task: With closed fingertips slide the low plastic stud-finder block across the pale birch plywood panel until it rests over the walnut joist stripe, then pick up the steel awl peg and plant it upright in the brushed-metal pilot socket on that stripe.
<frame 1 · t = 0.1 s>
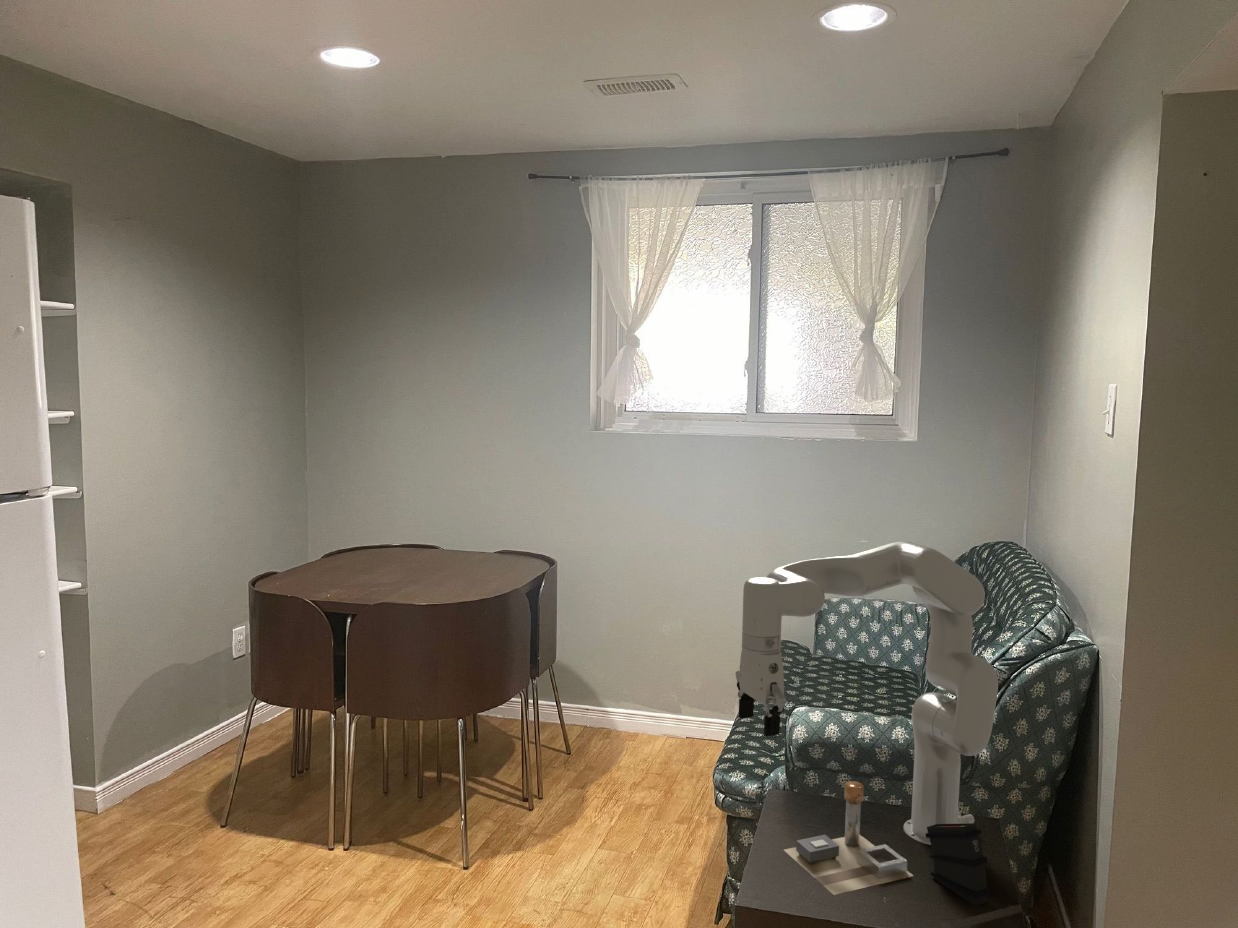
hand: (758, 725, 186), 31 cm above the table, fingers open, 9 cm apart
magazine: (954, 892, 185), on the table
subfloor: (846, 866, 193), on the table
socket: (881, 866, 192), resting on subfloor
finder: (817, 856, 195), point 1 cm above the table, touching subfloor
awl: (851, 843, 201), point 1 cm above the table, touching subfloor
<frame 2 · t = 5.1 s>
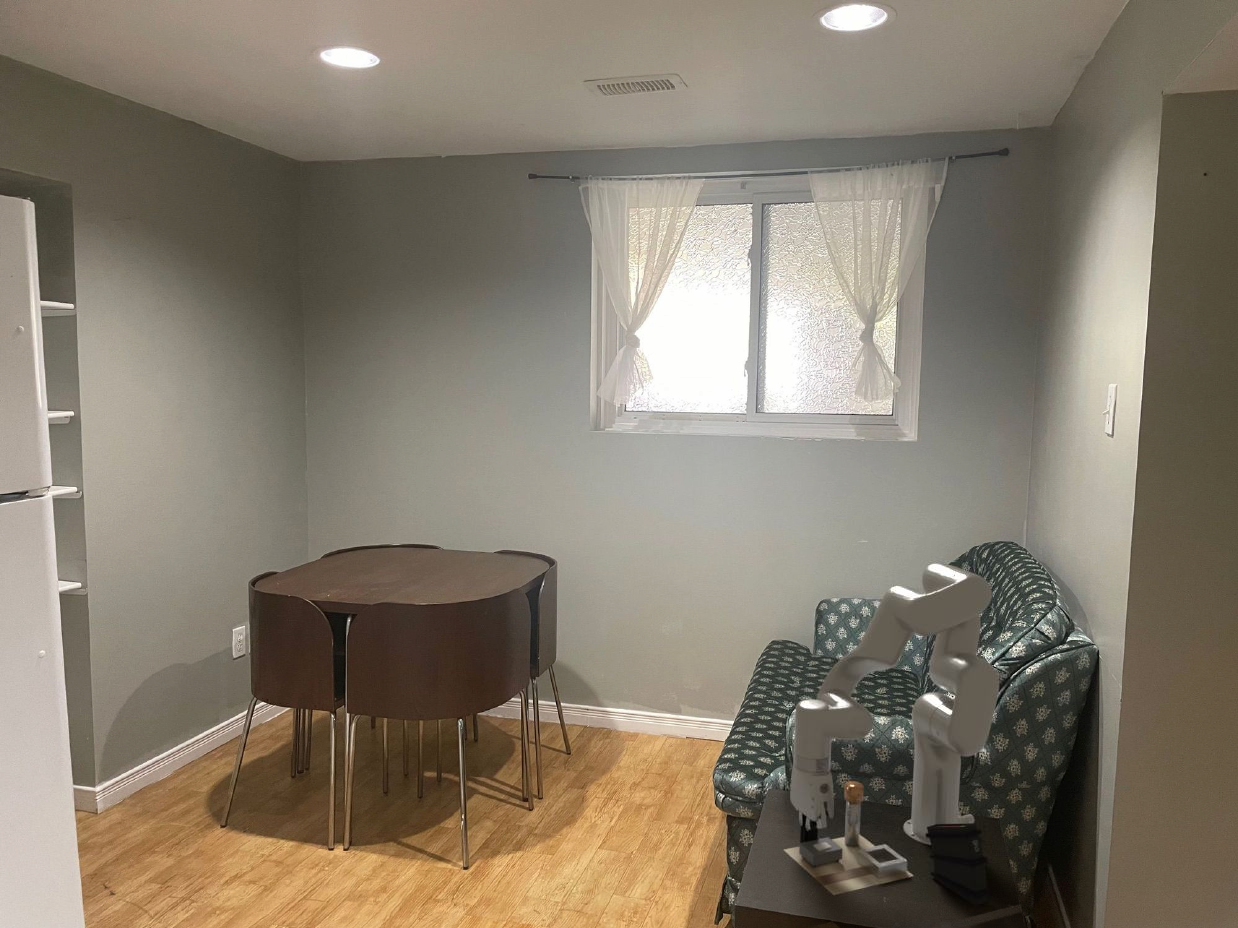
hand: (808, 844, 198), 2 cm above the table, fingers closed
finder: (820, 859, 194), point 1 cm above the table, touching gripper
everything else where it was.
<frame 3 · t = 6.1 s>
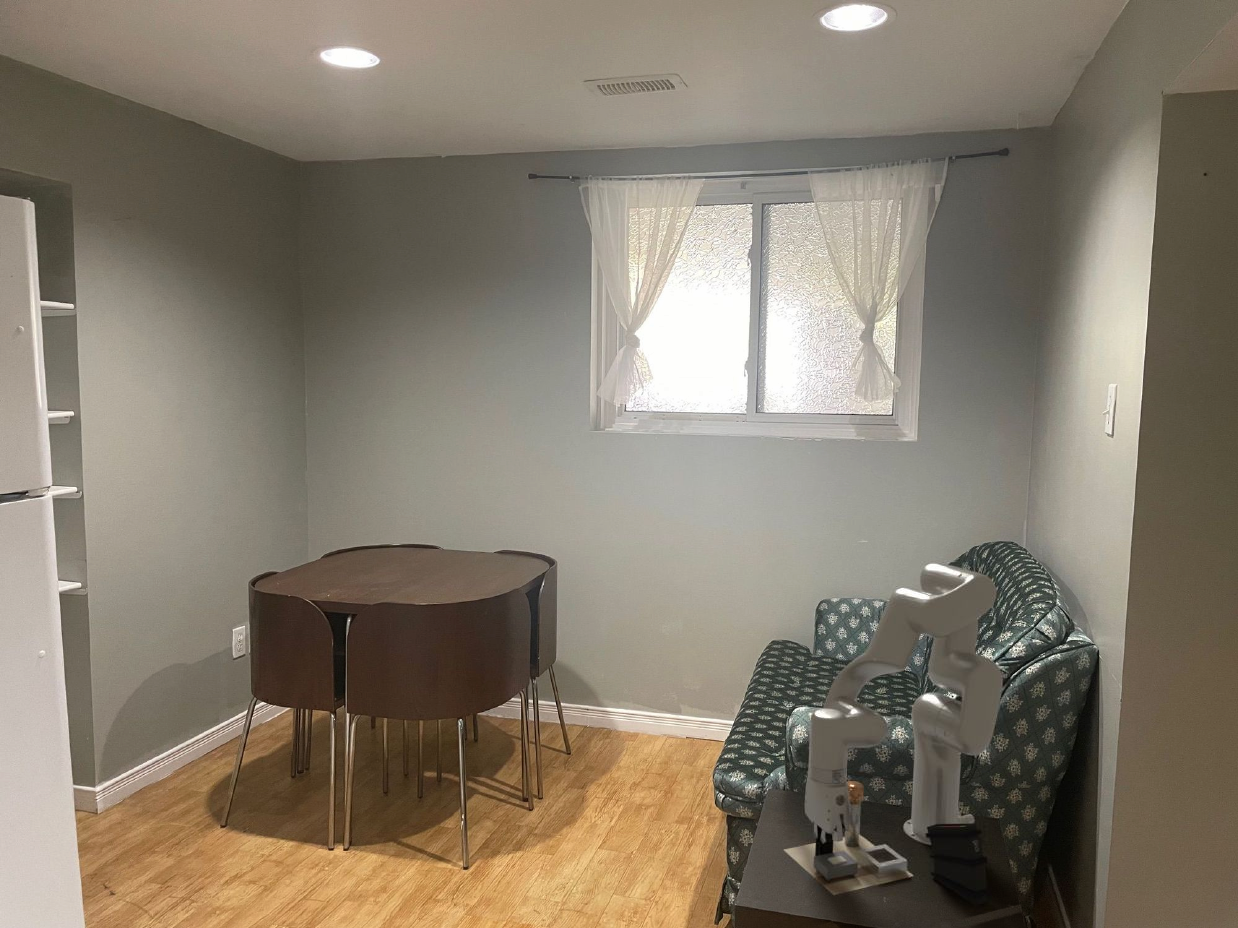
hand: (823, 857, 193), 2 cm above the table, fingers closed
finder: (835, 873, 189), point 1 cm above the table, touching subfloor
everything else where it was.
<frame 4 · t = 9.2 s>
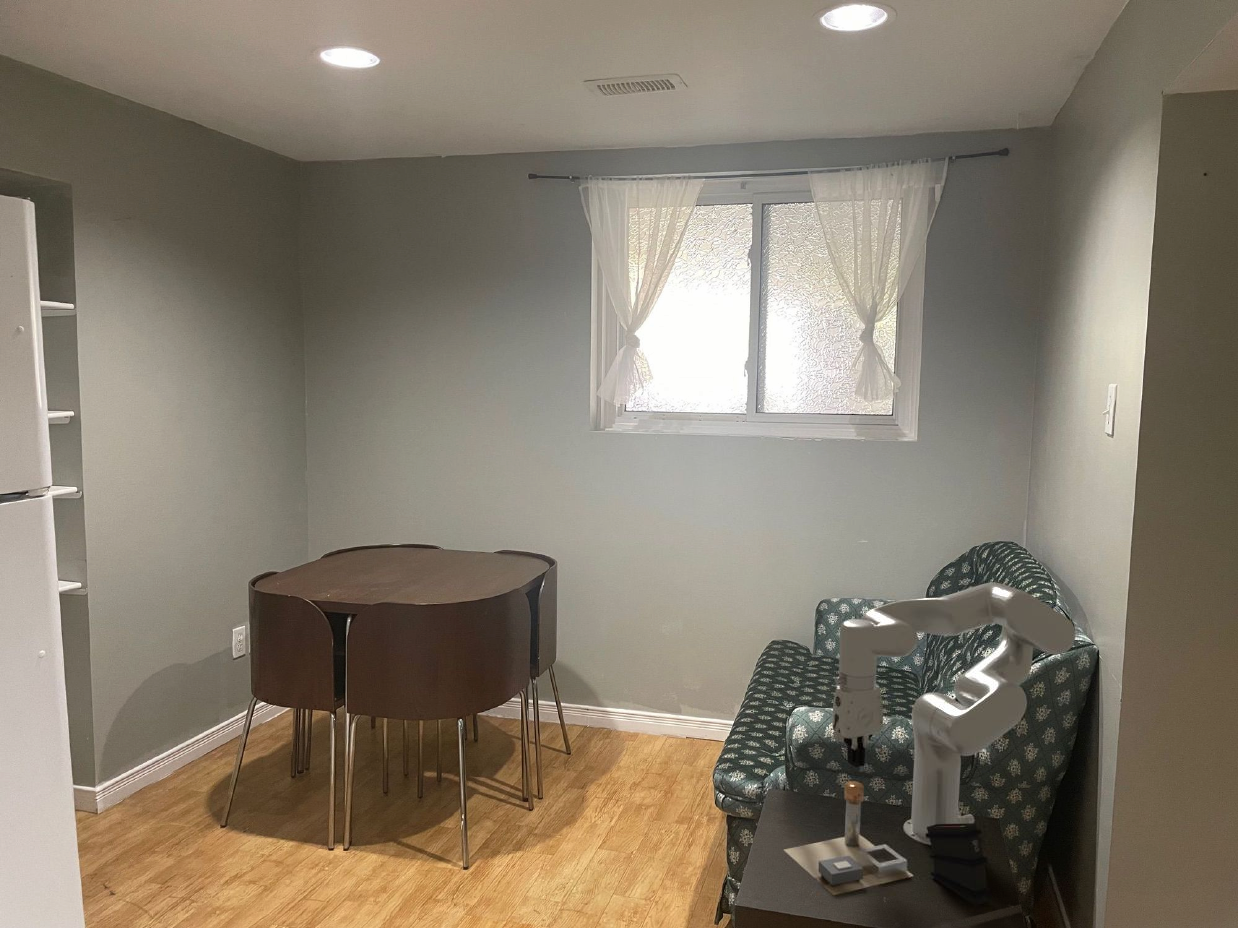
hand: (855, 763, 199), 19 cm above the table, fingers closed
finder: (840, 878, 187), point 1 cm above the table, touching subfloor
everything else where it was.
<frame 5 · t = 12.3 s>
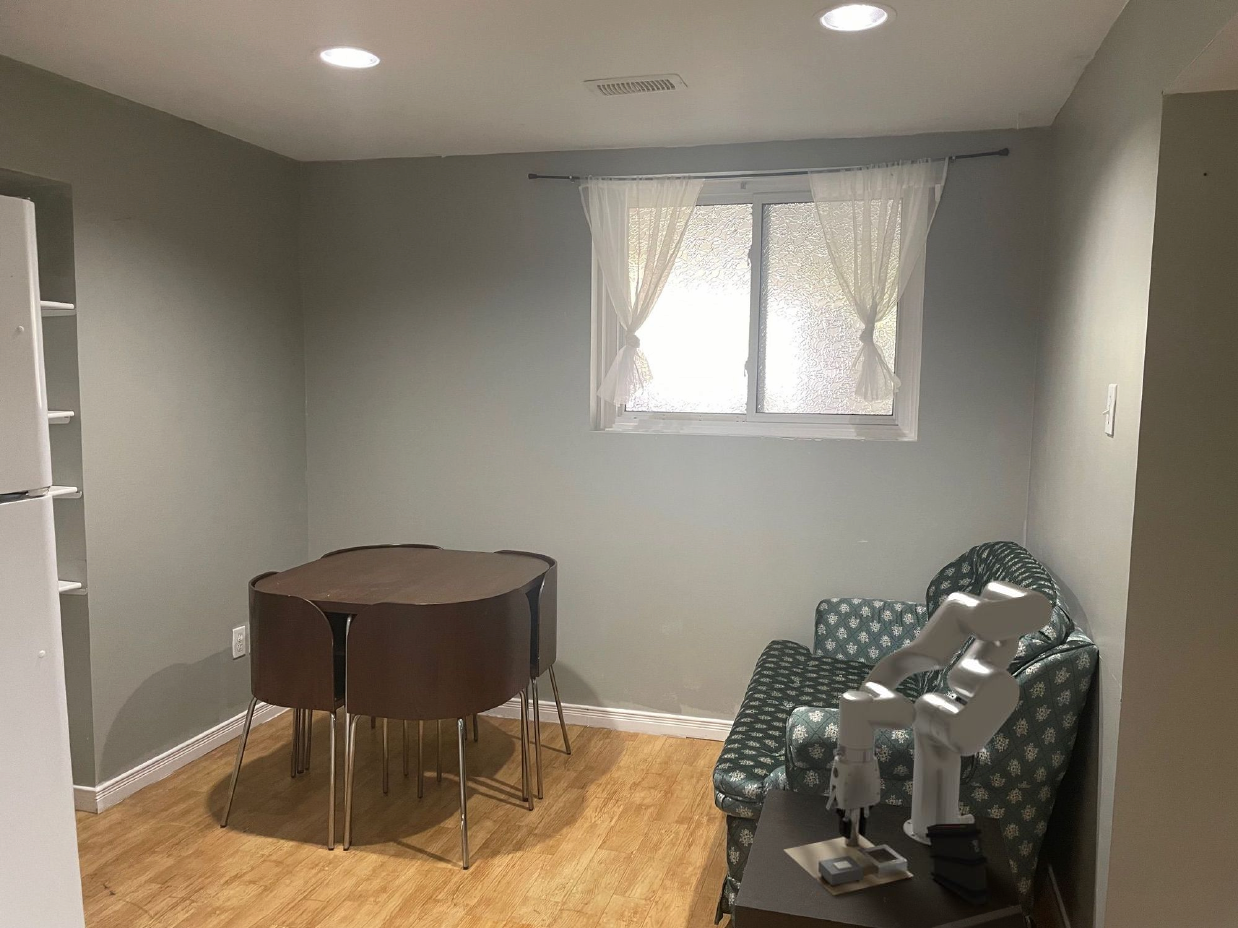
hand: (852, 833, 200), 3 cm above the table, fingers closed on awl, 3 cm apart
awl: (851, 843, 201), point 1 cm above the table, touching gripper, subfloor
everything else where it was.
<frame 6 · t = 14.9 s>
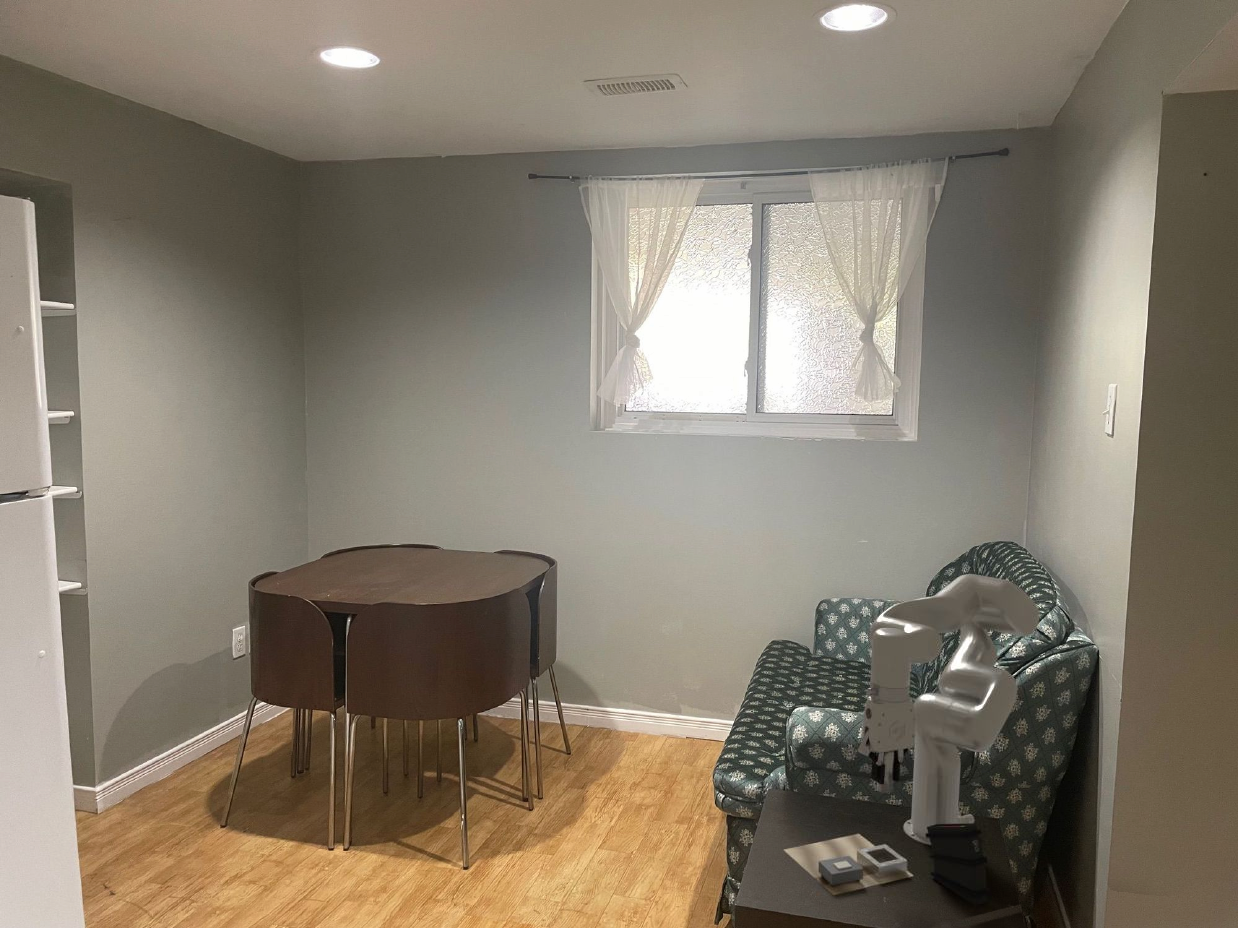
hand: (885, 779, 189), 20 cm above the table, fingers closed on awl, 3 cm apart
awl: (884, 789, 190), point 17 cm above the table, touching gripper
everything else where it was.
when the fingers open (5 cm above the table, at t = 17.7 s): awl drops 1 cm, resting on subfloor.
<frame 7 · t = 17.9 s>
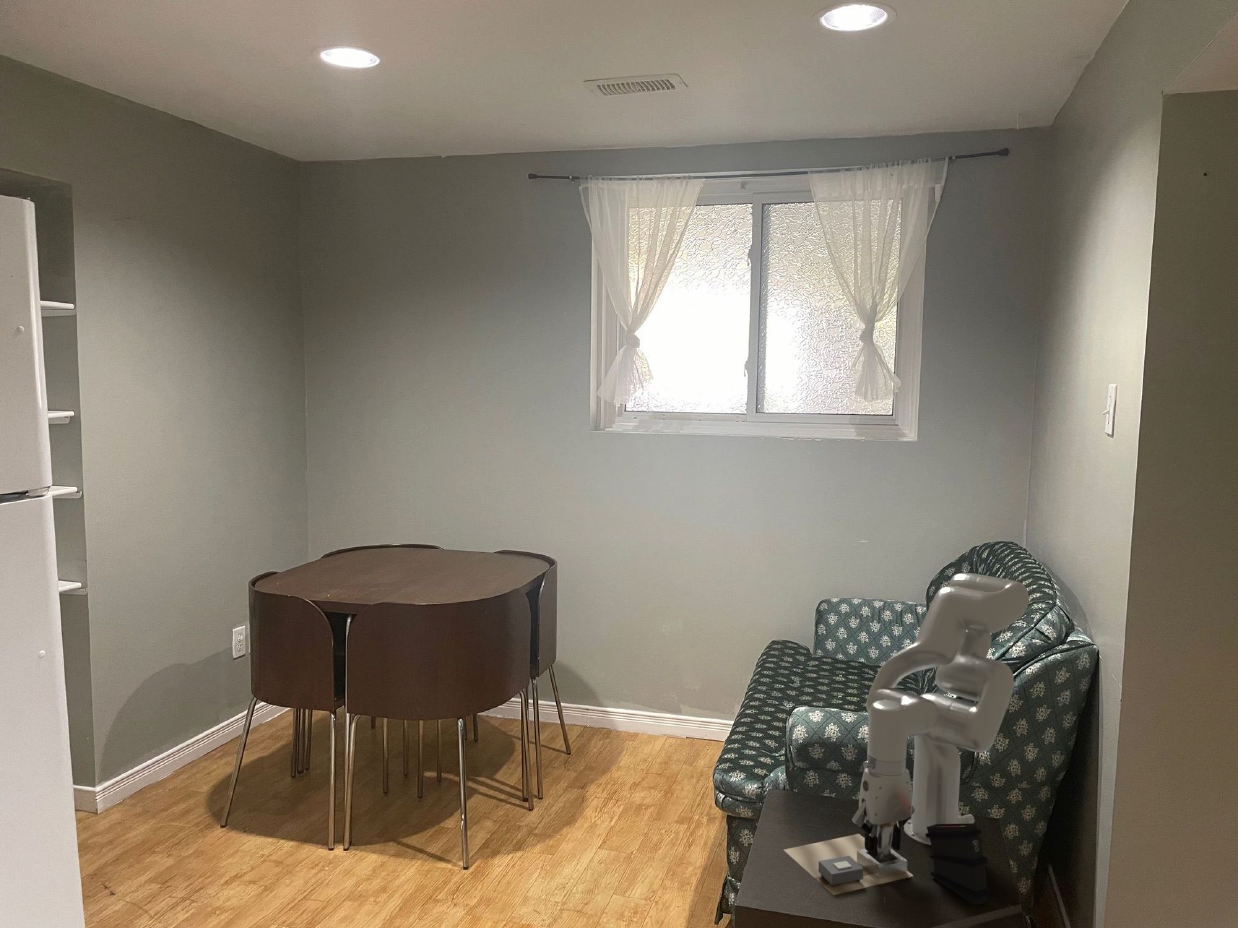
hand: (882, 848, 191), 5 cm above the table, fingers open, 4 cm apart
awl: (881, 866, 192), point 1 cm above the table, touching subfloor
everything else where it was.
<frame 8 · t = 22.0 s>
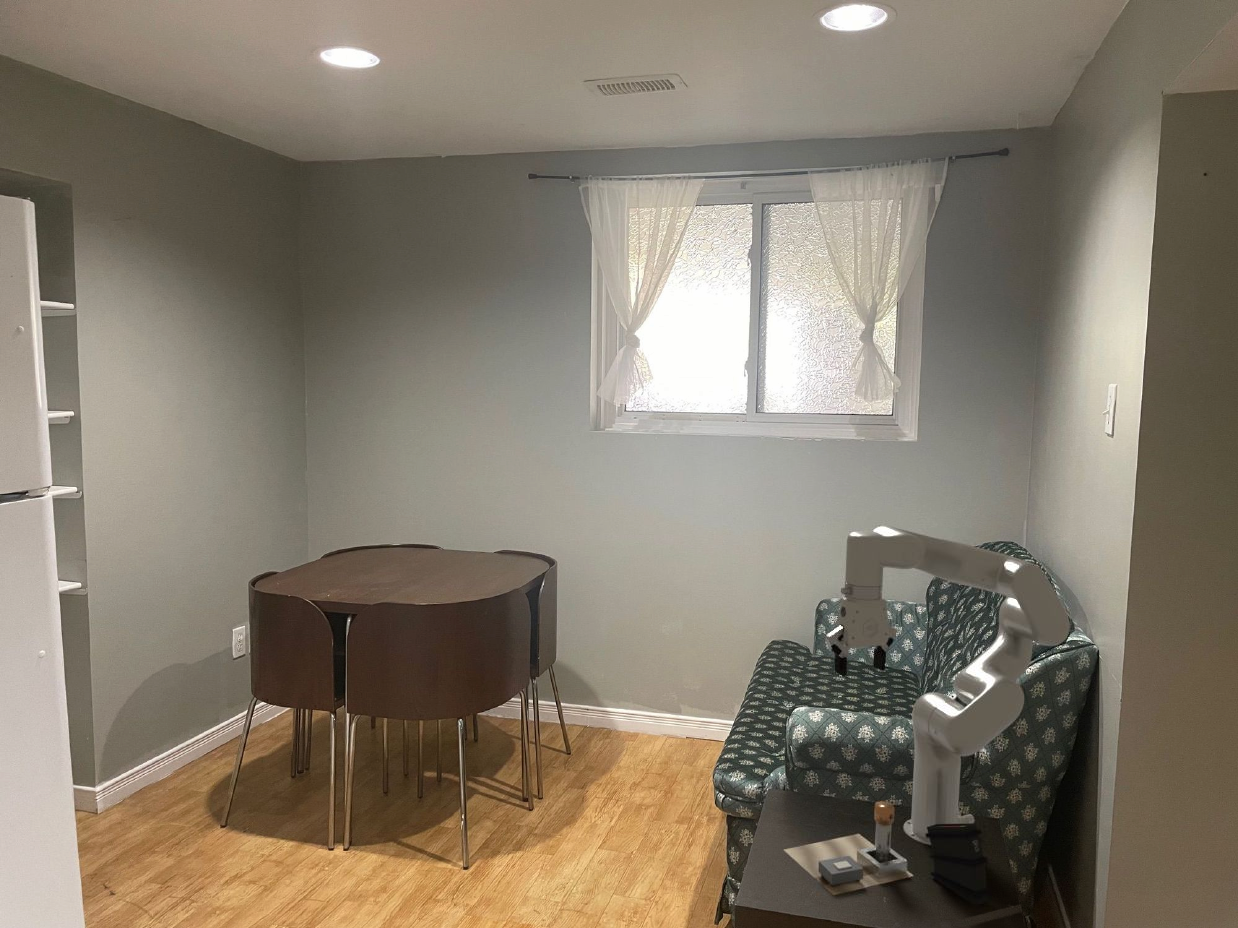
hand: (860, 671, 198), 38 cm above the table, fingers open, 9 cm apart
nothing on the table moved.
at the end: finder inside the target area (0.6 cm from its centre), point 1.0 cm above the table; awl 0.1 cm from the target spot, point 1.0 cm above the table; awl tilted 0° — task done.
